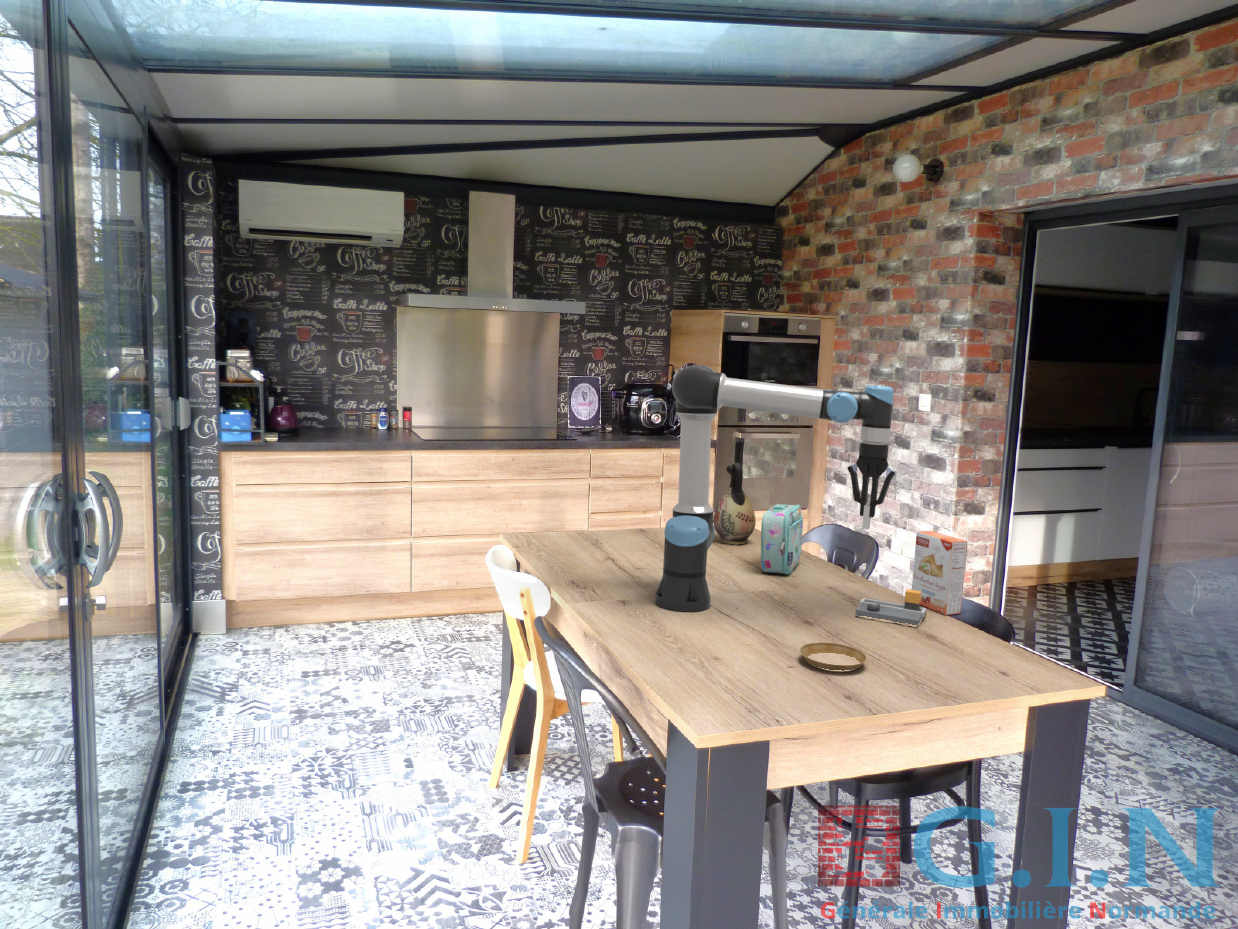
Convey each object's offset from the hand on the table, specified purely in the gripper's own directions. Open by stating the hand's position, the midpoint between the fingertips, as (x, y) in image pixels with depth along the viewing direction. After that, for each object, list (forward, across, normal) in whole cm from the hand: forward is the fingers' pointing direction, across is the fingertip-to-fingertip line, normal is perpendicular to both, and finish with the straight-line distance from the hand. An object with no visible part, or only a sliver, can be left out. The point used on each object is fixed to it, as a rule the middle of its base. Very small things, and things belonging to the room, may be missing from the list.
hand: (865, 528), depth 241 cm
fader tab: (+20, -14, +1) cm, 25 cm away
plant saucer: (+23, -6, +49) cm, 54 cm away
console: (+23, -9, +2) cm, 24 cm away
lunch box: (+23, +33, -31) cm, 51 cm away
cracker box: (+23, -18, -14) cm, 32 cm away
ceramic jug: (+24, +60, -58) cm, 87 cm away
